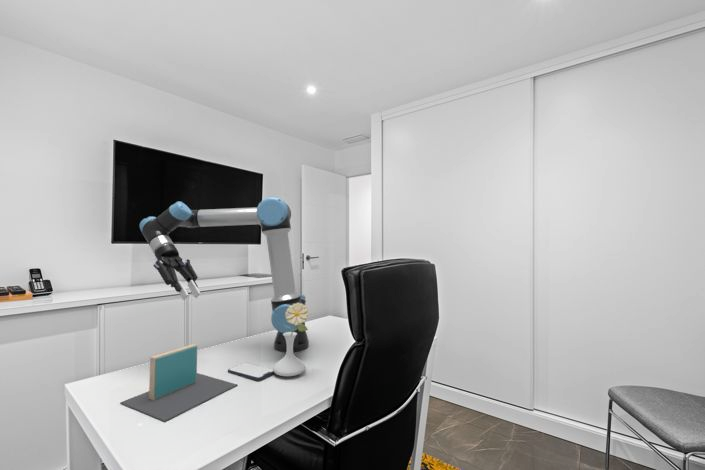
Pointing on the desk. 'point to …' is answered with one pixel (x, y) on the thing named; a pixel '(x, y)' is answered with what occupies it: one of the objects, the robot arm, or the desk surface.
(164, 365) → the tile
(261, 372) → the smartphone
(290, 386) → the desk surface
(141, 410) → the mat
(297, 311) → the flower in vase
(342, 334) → the desk surface
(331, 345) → the desk surface
